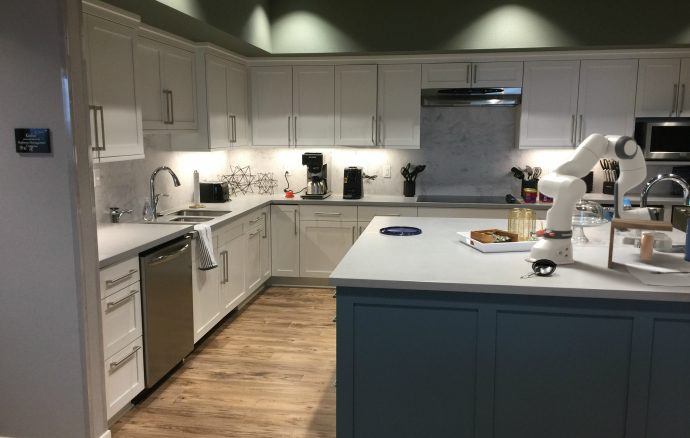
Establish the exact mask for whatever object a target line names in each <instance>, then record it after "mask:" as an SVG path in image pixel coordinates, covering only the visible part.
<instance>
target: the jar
mask: <svg viewBox="0 0 690 438" xmlns="http://www.w3.org/2000/svg"><path fill="white" fill-rule="evenodd" d="M641 234H642V236H641V247H639V248H640V249H639V259H641V260H647V261H648V260H650V261H652V260H653V254H654V248H653V244H654V235H655V233H654V232H650V231H642V233H641Z"/></svg>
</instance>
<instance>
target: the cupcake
mask: <svg viewBox="0 0 690 438" xmlns="http://www.w3.org/2000/svg"><path fill="white" fill-rule="evenodd" d="M540 227H541V230H544V227H543V221H542V220H541V222H540ZM535 237H543V236H542V234H539V230H537V231H536V232H535Z"/></svg>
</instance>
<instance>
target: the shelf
mask: <svg viewBox="0 0 690 438" xmlns="http://www.w3.org/2000/svg"><path fill="white" fill-rule="evenodd" d="M615 228H628V229H635V230H638V229H642V230H654V231H655V232H658V231H660V232H668V233H669V232H670V233H672V232H673V231H674V227H673V224H672V222H671V221H667V220H666V221H665V220H657V221H653V220H637V219H622V218H613V217H611V221H610V230H609V231H610V233H609V246H608V247H609V248H608V258H607V259H608V260H607V269H612V268H613V267H612V265H613V264H612V263H613V254H614V243H615V242H614V239H615V231H616V229H615Z"/></svg>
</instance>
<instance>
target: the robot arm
mask: <svg viewBox="0 0 690 438" xmlns="http://www.w3.org/2000/svg"><path fill="white" fill-rule="evenodd" d="M643 153H644V152H643V150H642V149H641V146H640V145H638V143H637V141H636V139H635V138H634V137H632V136H628V135H618V134H608V135H603V134H601V133H597V132H596V133H595V132H594V133H592V134H590V135H588V137H586V138H585V139H584V140H583V141H582V142H581V143H580V144H579V145H578V146H577V148H576V149H575V150H574V151H573V152H572V153H571V154H570V156H569V157H568V158H567V159H566V160H565V161H564V162H563V163H562V164H560V165H559V166H557V167H556V168H555V169H554V170H552V171H551V172H549V173H547V174H544V175H542V176H541V177H540V178H539V180H538V182H537V189H538V191H539V192H540V193H541V194H542V195H544V196H545V197H548V198H552V199H554V201H553V205H552V206H551V208H549V209H547V212H546V219H545V227H544V229H543V230H542V229H538V231H539V234H542V236H543V237H542V238H541V239H540V240H539V241H536V242H535V243H534V244H533V245H532V246H531V249H530V253H529V256H525V257H524V260H525V261H526V262H529V263H532V264H534V263H533V262H534V261H536V260H539V259H548V260H552V261H554V262H555V263H556V264H557V265H565V264H566V265H567V264H575V260H574V252H573V250H574V248H573V243H572V237H573V229H572V227H573V226H572V224H573V216H574V211H575V208H576V206H577V204H578V203H579V201H580V200H581V199H583V197H584V196H586V192H587V183H586V182H585V180H583V179H582V178H585V177H586V176H588V175H589V173H590V172H592V170H593V169H594V167H595V166H596V165H597V164H598V162H599V161H600V160H601V159H609V160H617V161H618V166H619V167H618V168H619V177H618V178H617V180H615V181H614V187H613V188H614V190H613V192H614V193H613V217H612V218H622V219H637V220H653V221H658V220H657V216H656V214H655V212H654V211H653V210H652V209H651V208H650V207H641V208H640V207H639V208H636V209H630V210H624V195H625V194H626V193H627V192H628V191H630V190H632V189H634V188H636V187H637V186H639V185H640V184H641V183H643V182H644V180H645V179H646V177H647V174H648V173H647V172H648V171H647V163H646V160H645V157H644V156H645V155H644V154H643ZM616 230H617V231H618V232H621V233H624V232H629V231H633V230H636V231H635V234H624V235H622V237H621V240H622V241H621V242H622V243H621V244H622V245H627V246H638V247H639V248H641V236H642V234H641V233H642V231H650V232H654V233H655V235H654V244H653V249H658V248H659V249H660V248H661V249H663V248H665V249H666V248H667V249H671V248H673V239H672V237H670V236H669V234H668V233H665V232H658V231H655V230H642V229H628V228H615V231H616Z"/></svg>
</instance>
